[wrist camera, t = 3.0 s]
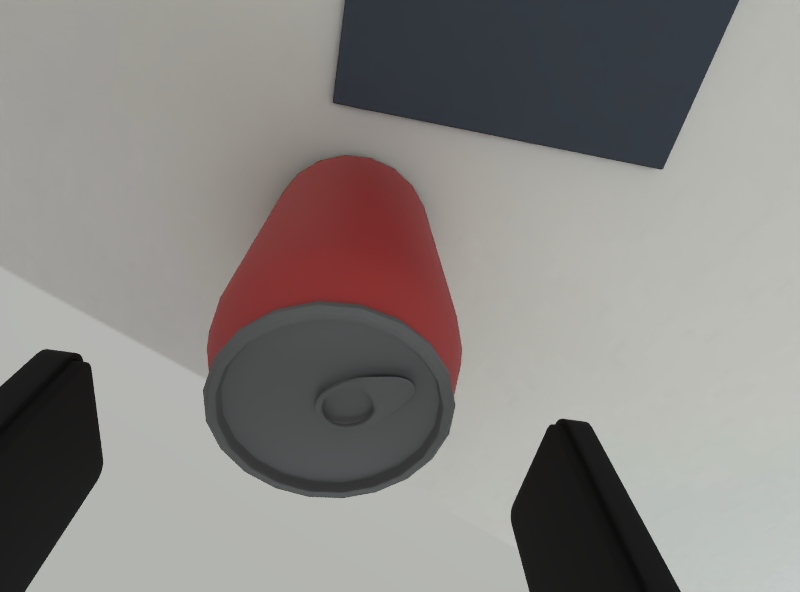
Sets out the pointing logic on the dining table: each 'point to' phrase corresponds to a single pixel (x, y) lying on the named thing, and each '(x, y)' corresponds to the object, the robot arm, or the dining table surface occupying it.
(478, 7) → the mat
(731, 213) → the dining table surface
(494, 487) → the dining table surface
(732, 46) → the dining table surface
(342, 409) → the beer can
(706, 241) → the dining table surface
